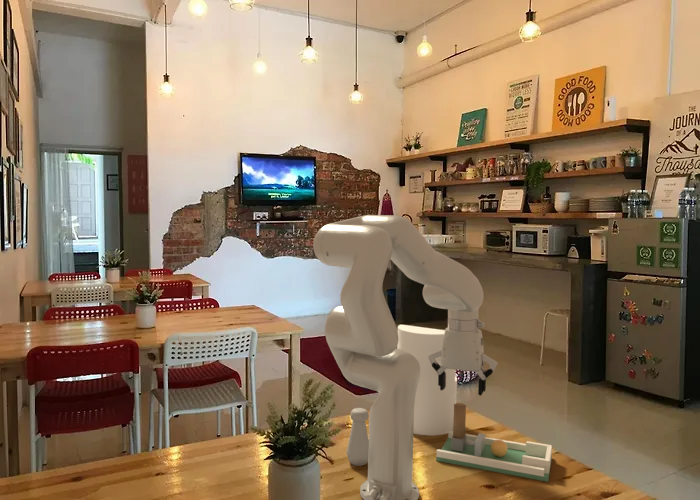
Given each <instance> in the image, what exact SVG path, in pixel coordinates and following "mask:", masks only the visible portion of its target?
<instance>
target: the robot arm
mask: <svg viewBox="0 0 700 500" xmlns="http://www.w3.org/2000/svg"><path fill="white" fill-rule="evenodd" d="M312 246H313V253H314V255H315V257H316V258H317V259H318V261H320V263H322V264H324V265H326V266H329V267H330V266H331V267H336V268H337V267H339V268H346V269H347V268H349V269H350V271H349V273H348V275H347V278H346V280H345V282H344V284H343V286H342V288H341V291H340V298H339V299H340V300H339V301H340V305H338V306H336V307H334V308H333V309H331V311H330V312H329V314H328V315H327V317H326V321H325V324H324V325H325V326H324V334H325V335H324V336H325V339H326V343H327V345H328V347H329V349H330V352H331V354H332V356H333V357H334V360H335V362H336V364H337V366H338V368H339V369H340V371H341V373H342V375H343V377H344V378H345V379H346V381H348V382H349V383H351V385H352V384H353V385H355V386H358V387H361V388H365V389H369V390H372V391H376V392H377V393H378V397H377V398H376V399H375V400H374V402H373V403H372V405H371V407H370V409H369V412H368V440H369V449H368V461H367V479H366V480H364V482H363V483H362V484H361V485H360V487H359V490H360V491H359V493H360V496H361V498H362V499H363V500H419V497H420V489H419V488H418V486H417V485H416V484H415V483H414V482H413V468H414V467H413V466H414V465H413V463H414V434H413V432H414V406H415V397H416V391H417V387H418V382H419V377H420V366H419V363H418V361H417V359H416V358H415V357H414V356H413V355H412V354H410V353H408V352H406V351H403V350H400V349H397V345H398V340H399V337H398V327H397V326H396V323H395V320H394V318H393V316H392V313H391V310H390V308H389V305H388V302H387V300H386V297H385V294H384V292H383V291H384V290H383V284H384V283H383V282H384V279H385V274H386V272H387V270H388V267H389V264H390V261H391V262H393V264H394V265H396V266H397V268H398V269H399V270H400V271H401V272H402V273H403V274H404V275H405V276H406V277H407V278H408V279H410V280H412V281H414V282H416V283H419V284H421V285H424V286H423V288H422V297H423V300H424V302H425V303H426V304H427V305H428V306H430V307H432V308H437V309H443V310H447V327H446V328H445V329H444V330H445V333H444V338H443V345H442V350H440V351H438V352H435V353H433V354H430V355H429V356H428V358H429V360H430V363H431V364H432V367H433V368H434V369H435V370H436V372H437V374H438V386H440V390H444V388H445V387H446V373H445V371H444V370H445V369H446V368H448V369H455V371H456V370H457V371H464V372H465V371H466V372H475V373H476V374H477V376H478V377H479V379H478V385H477V386H478V391H477V392H478V393H477V394H478V396H482V395H483V393H484V392H486V390H487V387H486V386H487V385H486V384H487V378H489V376H491V375H492V374H493V373H494V371H495V370H496V368H497V365H499V363H498V362H497V361H496V360H494V359H493V358H491V357H490V356H488V355H487V354H485V353H484V352H485V351H484V340H483V339H484V337H483V333H482V330H481V329H480V328H484V327H485V321H482V320H480V317H479V311H480V310H479V309H480V307H482V305H483V302H484V301H483V300H484V289H483V287H482V284H481V282H480V281H479V279H478V277H476V275H475V274H474V273H473V272H472V270H470V269H469V268H468V267H467V266H465V265H463V263H460V262H458V261H456V260H455V259H452V258H450V257H449V256H447V255H445V254H443V253H441V252H439V251H437V250H435V249H434V248H433V246H432V245H431V244H430V243H429V242H428V240H427V239H426V238H425V237H424V236H423V235H422V233H421V232H420V231H419V230H418V228H417V227H416V226H415V224H413V223H412V221H410V220H409V219H407V217H404V216H400V215H393V214H392V215H391V214H390V215H389V214H387V215H386V214H385V215H384V214H368V215H367V214H366V215H361V216H356V217H352V218H349V219H344V220H340V221H336V222H331V223H328V224H325V225H324V226H322V227H321V228H320V229H319V230H318V231H317V232H316V234H315V236H314V239H313V244H312ZM440 356H441V364H442V366H440V365H439V364H438V363H437V362H436V358H437V357H440ZM485 363H486V364H488V365H489V368H488V369H487V370H485V368H484V367H483V366H484V364H485Z"/></svg>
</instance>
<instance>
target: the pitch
mask: <svg viewBox="0 0 700 500" xmlns="http://www.w3.org/2000/svg"><path fill="white" fill-rule="evenodd" d="M447 434H448V436H447V439H446V440H445V442H444V444H443V446H442V447H441V449H439V448H438V449H436V456H435V457H436V459H435V460H436V462H442V463H447V464H451V465H452V464H453V465H458V466H463V467H466V468H467V467H469V468H473V469H479V470H483V471H487V472H489V471H490V472H495V473H499V474H500V473H501V474H505V475H511V476H516V477H522V478H526V479H532V480H536V481H542V482H546V483H547V482H549V479H550V471H551V465H552V456H553V454H552V453H553V452H552V451H553V450H552V449H553V445H552V444H547V443H540V442H533V441H526V442H525V443H523V442H522V443H521V442H517V441H510V440H505V439H498V438H493V437H487V436H485V448H484V450H483V452H482V454H481V457H480V456H474V449H475V447H472V446H466V447H465V449H464V451H463V452H461V451H456V450H451V438H452V436H453V431H449V433H447ZM465 434H466V440H471V441H475V440H476V438H477V436H478V435H476V434H470V433H465ZM495 440H502V441H504V442H505V443H506V445H507V448H508V450H507V453H506V454H505V455H504V456H502V457H498V456H495V455H494V454H493V453H492V451H491V444H492V443H493V442H494V441H495Z"/></svg>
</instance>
